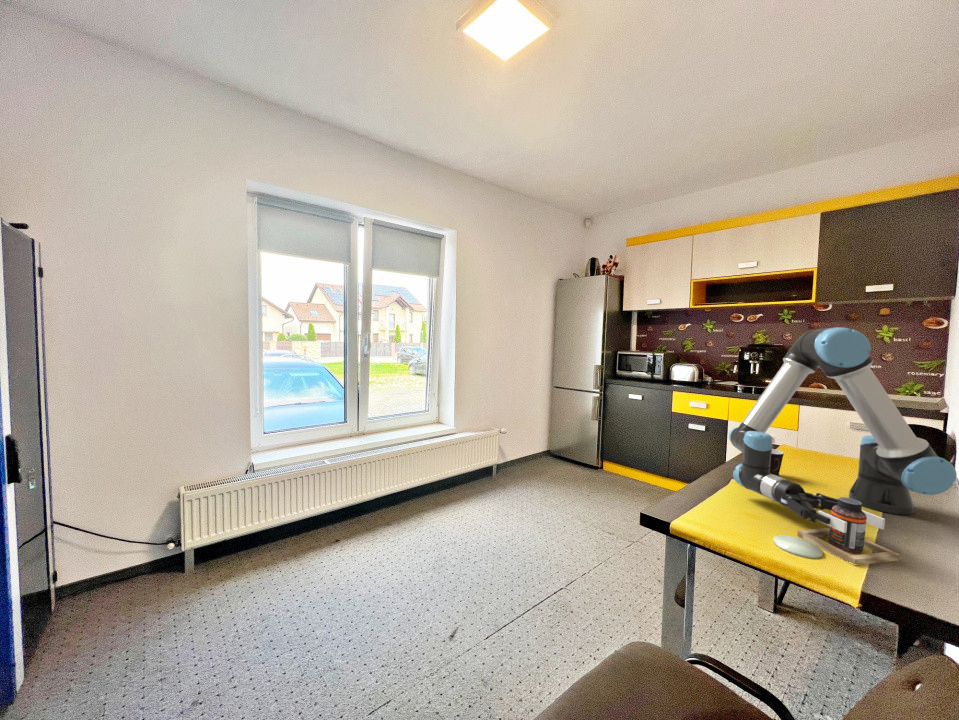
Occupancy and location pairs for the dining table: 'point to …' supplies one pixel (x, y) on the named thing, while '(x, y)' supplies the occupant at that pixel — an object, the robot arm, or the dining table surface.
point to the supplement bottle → (849, 526)
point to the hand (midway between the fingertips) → (864, 525)
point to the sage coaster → (798, 546)
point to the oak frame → (879, 556)
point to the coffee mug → (776, 461)
